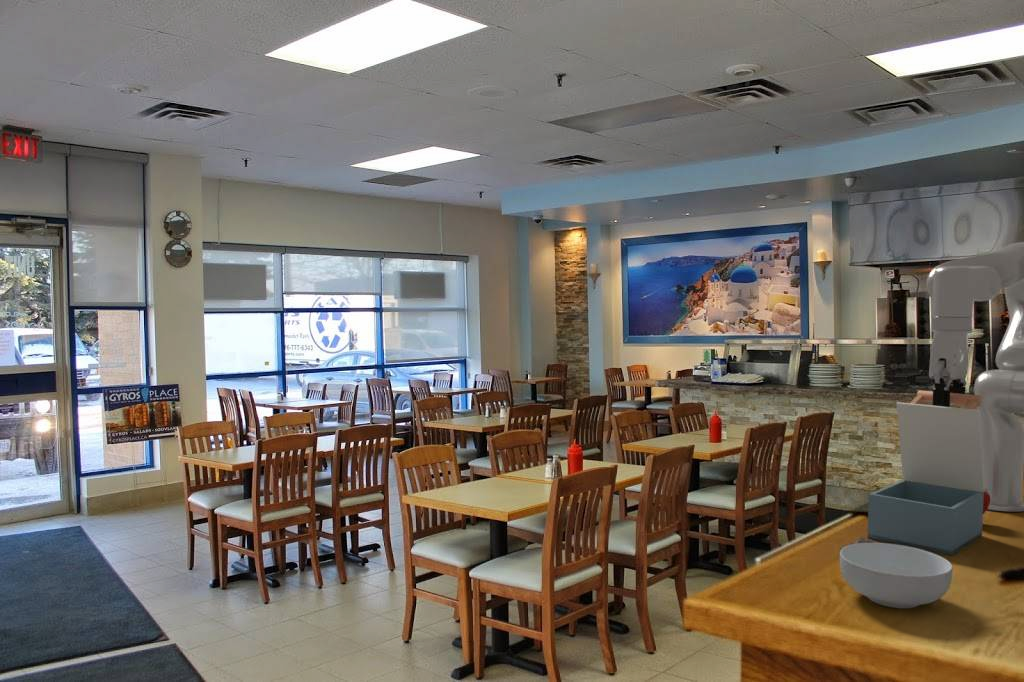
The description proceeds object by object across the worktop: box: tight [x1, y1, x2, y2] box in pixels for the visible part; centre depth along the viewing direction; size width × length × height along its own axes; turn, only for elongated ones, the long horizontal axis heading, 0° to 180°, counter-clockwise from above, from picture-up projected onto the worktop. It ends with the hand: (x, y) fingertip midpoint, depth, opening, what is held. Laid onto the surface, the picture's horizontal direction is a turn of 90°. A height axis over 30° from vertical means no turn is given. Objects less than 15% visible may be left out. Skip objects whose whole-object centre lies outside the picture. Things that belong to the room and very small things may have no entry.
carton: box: [867, 479, 984, 556], centre depth 175 cm, size 18×16×9 cm
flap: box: [895, 389, 985, 492], centre depth 181 cm, size 18×16×8 cm
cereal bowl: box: [839, 542, 954, 609], centre depth 140 cm, size 17×17×7 cm
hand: (948, 406), depth 181 cm, fingers open, 9 cm apart
